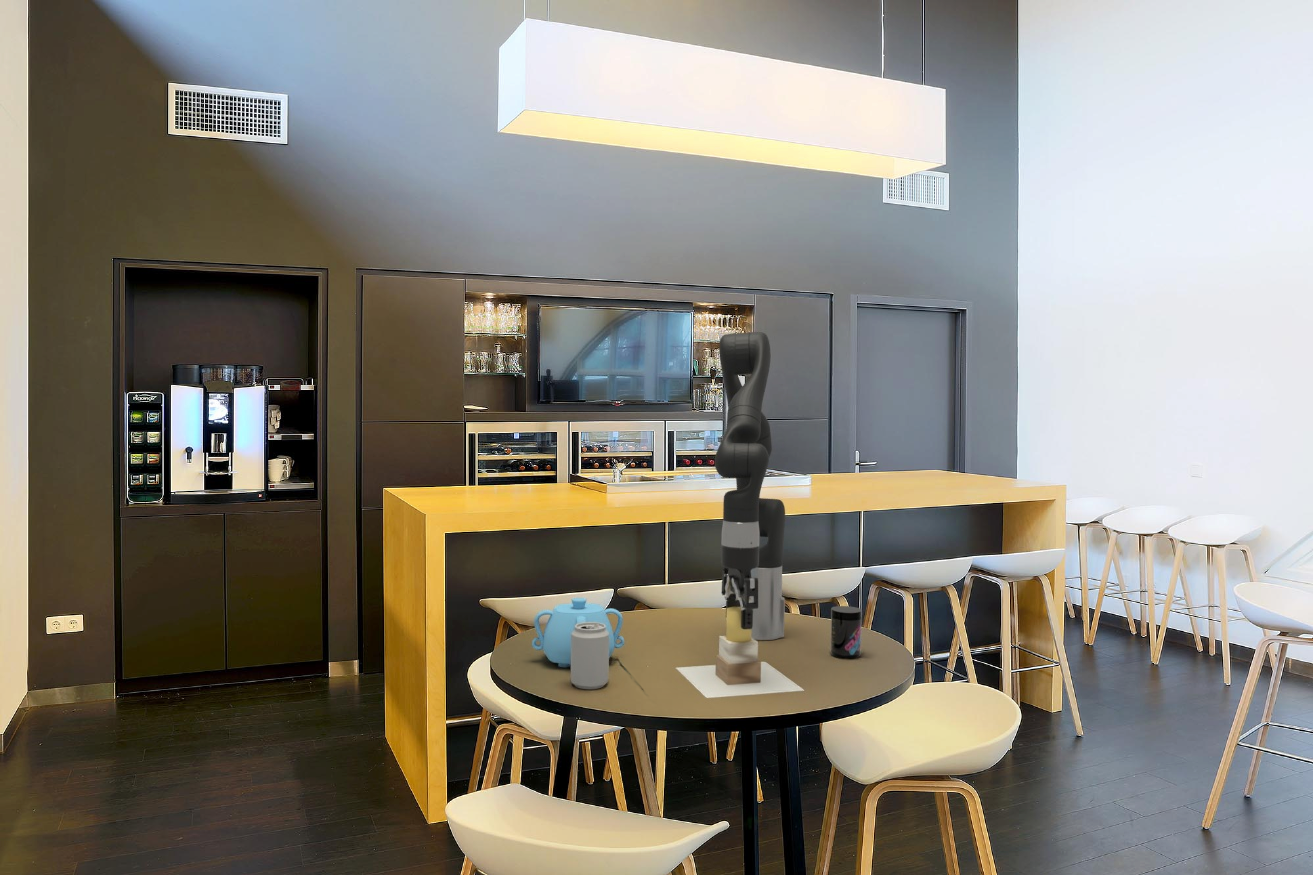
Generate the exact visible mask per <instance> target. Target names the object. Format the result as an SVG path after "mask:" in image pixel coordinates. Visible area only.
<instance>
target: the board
mask: <svg viewBox="0 0 1313 875" xmlns="http://www.w3.org/2000/svg"><path fill="white" fill-rule="evenodd" d="M760 662H761V683H748V684H735V685H727V684H726V683H724V682H723V681H722V680H721V679H720V678H719V677H718V676H716V675H715V673H716V664H712V665H710V664H709V665H695V666H681V667H675V669H676V671H678V672H679V673H680V674H681V675H682V676H683V677H684V678H685V679H687V681H688V682H689V683H690V684H692V685H693V687H695V689H697V690H698V691H699V692H700V693H701V694H702V696H703V697H705V698H706V699H713V698H714V699H715V698H726V697H727V698H728V697H740V696H752V695H753V696H754V695H755V696H756V695H765V694H766V695H767V694H777V693H790V692H792V693H793V692H803V691H806V690H805V689H803V687H801V686H799V685H798V684H797V683H795V682H794V681H793V680H791V679H790V678H789V677H787V676H785V675H784V674H783V673H782V672H780V671H778V669H776V668H775V667H773V666H772V665H770V664H769V663H768V662H766V661H760Z"/></svg>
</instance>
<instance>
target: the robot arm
mask: <svg viewBox="0 0 1313 875" xmlns="http://www.w3.org/2000/svg"><path fill="white" fill-rule="evenodd" d="M718 352H719V353H718V354H719V361H720V368H721V372H722V374H721V375H722V378H723V379H722V380H723V384H724V389H725V396H726V401H727V408H728V409H727V413H726V414H727V415H726V427H725V431H724V432H725V433H724V436H723V438H722V439H721V442H720V443H719V446H718V447H717V450H716V453H715V458H714V466H715V470H716V472H717V474H718V475H719V476H721V477H722V478H726V479H735V481H736V482H735V483H736V489H733V490H728V491H727V492H725V494H724V496H723V504H722V505H723V509H722V511H723V514H722V515H723V516H722V520H723V521H722V528H721V551H720V553H721V554H720V564H721V566H722V575H721V595H722V596H724V600H725V618H726V619H727V608H729V607H738V601H739V604H740V607H741V628H742V629H751V638H753V639H754V640H756V641H772V640H779V639H780V638H785V617H786V616H785V615H786V613H785V609H786V608H785V607H786V598H785V597H784V596H783V592H782V591H783V558H784V537H785V526H786V525H785V523H786V508H785V504H784V502H783V501H782V499H778V498H777V499H776V498H765V497H763V498H762V497H760V496H761V489H762V486H763V483H764V479H765V477H766V473H767V469H768V467H769V461H770V457H771V455H772V451H773V450H772V449H773V446H772V443H773V442H772V434H771V425H770V422H769V420H768V418H767V416H766V415H764V413H763V411H762V408H763V401H764V396H765V392H766V388H767V383H768V378H769V372H770V368H771V345H770V340H769V337H768V335H767V333H765V332H763V331H751V332H737V333H736V332H734V333H728V334H726V333H725V334H723V335H722V336H721V337H720V339H719V345H718ZM740 375H741V376H742V375H750V376H749V378H748V379H747V381H746V382H745V383H744V384H742V382H741V380H740V378H739V377H740ZM760 537H762V538H767V543H766V544H764V545H763V546H761V547H760Z"/></svg>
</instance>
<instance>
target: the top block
mask: <svg viewBox="0 0 1313 875" xmlns="http://www.w3.org/2000/svg"><path fill="white" fill-rule="evenodd" d="M718 638H719V639H718V644H719V645H718V655H719V656H720V657H721V658H722V659H724V660H725V661H726V662H727V663H729V664H736V663H751V662H758V661H759V654H758V653H759V642H758V640H756V639H753V638H751V641H749V642H742V643H739V642H731V641H728V640H726V635H719V636H718Z"/></svg>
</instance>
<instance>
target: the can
mask: <svg viewBox="0 0 1313 875" xmlns="http://www.w3.org/2000/svg"><path fill="white" fill-rule="evenodd" d="M574 627H575V629H574V631H573V632H572V633H571V665H570V682H571V684H573V685H574V687H576V688H577V689H578V688H579V689H583V690H596V689H600V688H603V687H604V686H605V685H606V684H608V682H609V678H610V676H609V674H610V673H609V671H610V670H609V668H610V666H609V665H610V661H609V660H610V658H609V632H608V631H607V630H606V629H605V628H606V625H605V624H603V623H598V622H583V623H578V624H576V625H575V626H574Z"/></svg>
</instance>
